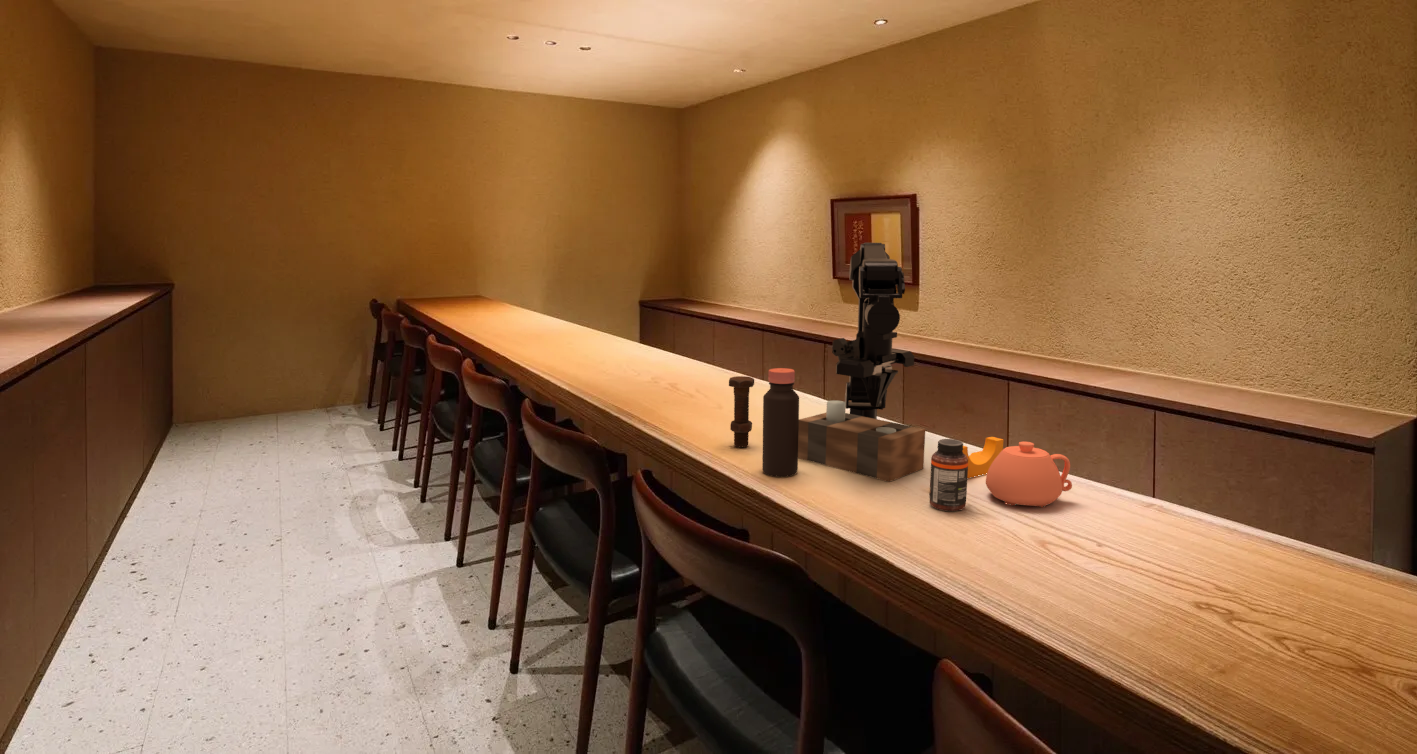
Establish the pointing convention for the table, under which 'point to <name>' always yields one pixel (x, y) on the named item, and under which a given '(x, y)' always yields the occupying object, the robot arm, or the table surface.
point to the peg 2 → (886, 430)
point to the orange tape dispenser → (983, 456)
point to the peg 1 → (835, 411)
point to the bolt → (741, 409)
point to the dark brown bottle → (780, 424)
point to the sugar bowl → (1027, 476)
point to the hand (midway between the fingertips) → (874, 406)
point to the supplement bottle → (949, 476)
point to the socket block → (862, 446)
